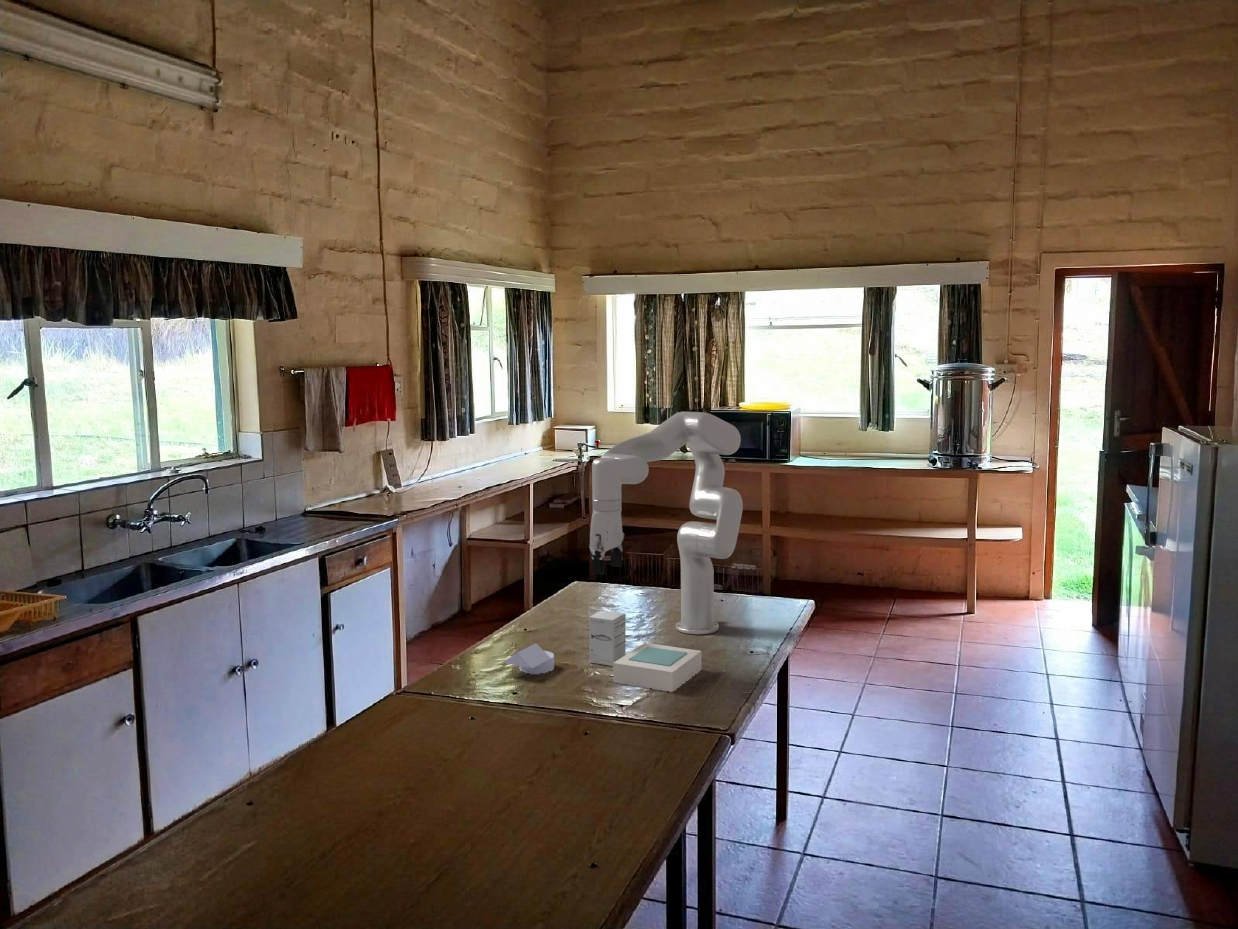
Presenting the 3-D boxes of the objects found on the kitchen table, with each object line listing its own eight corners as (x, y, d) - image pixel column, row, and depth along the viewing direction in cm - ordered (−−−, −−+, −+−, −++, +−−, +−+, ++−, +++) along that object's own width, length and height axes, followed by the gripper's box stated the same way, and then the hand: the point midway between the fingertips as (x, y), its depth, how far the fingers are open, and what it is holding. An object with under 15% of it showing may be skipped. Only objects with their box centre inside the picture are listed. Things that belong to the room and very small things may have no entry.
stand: (645, 661, 258) (644, 641, 258) (701, 669, 251) (701, 649, 250) (613, 682, 242) (613, 661, 242) (672, 692, 235) (672, 671, 234)
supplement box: (588, 663, 257) (588, 616, 256) (602, 655, 264) (601, 609, 262) (613, 667, 254) (613, 619, 252) (626, 659, 260) (626, 612, 259)
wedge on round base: (532, 681, 244) (560, 666, 255) (532, 655, 243) (560, 641, 255) (503, 675, 249) (532, 660, 260) (502, 650, 248) (531, 636, 259)
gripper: (609, 499, 263) (610, 562, 265) (578, 509, 248) (578, 576, 250) (634, 501, 259) (635, 565, 262) (604, 511, 244) (605, 579, 246)
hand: (607, 570), depth 256 cm, fingers open, 9 cm apart
